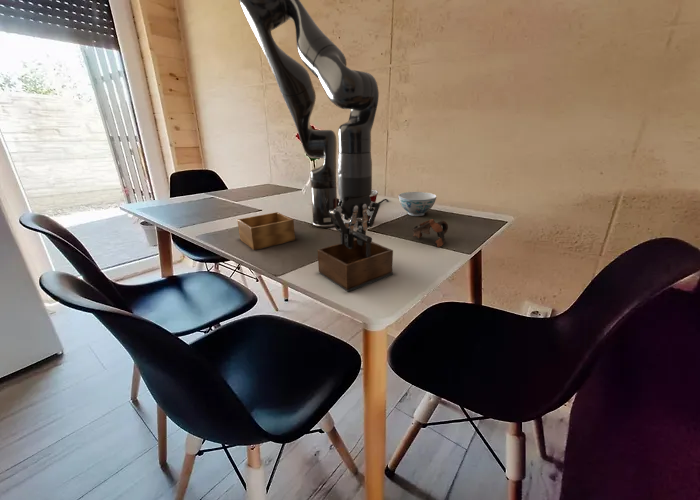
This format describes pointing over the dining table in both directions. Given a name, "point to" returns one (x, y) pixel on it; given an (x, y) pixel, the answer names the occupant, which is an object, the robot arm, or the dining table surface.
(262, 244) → the box
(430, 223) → the brown toy animal
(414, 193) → the chinaware
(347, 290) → the mat
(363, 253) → the box
